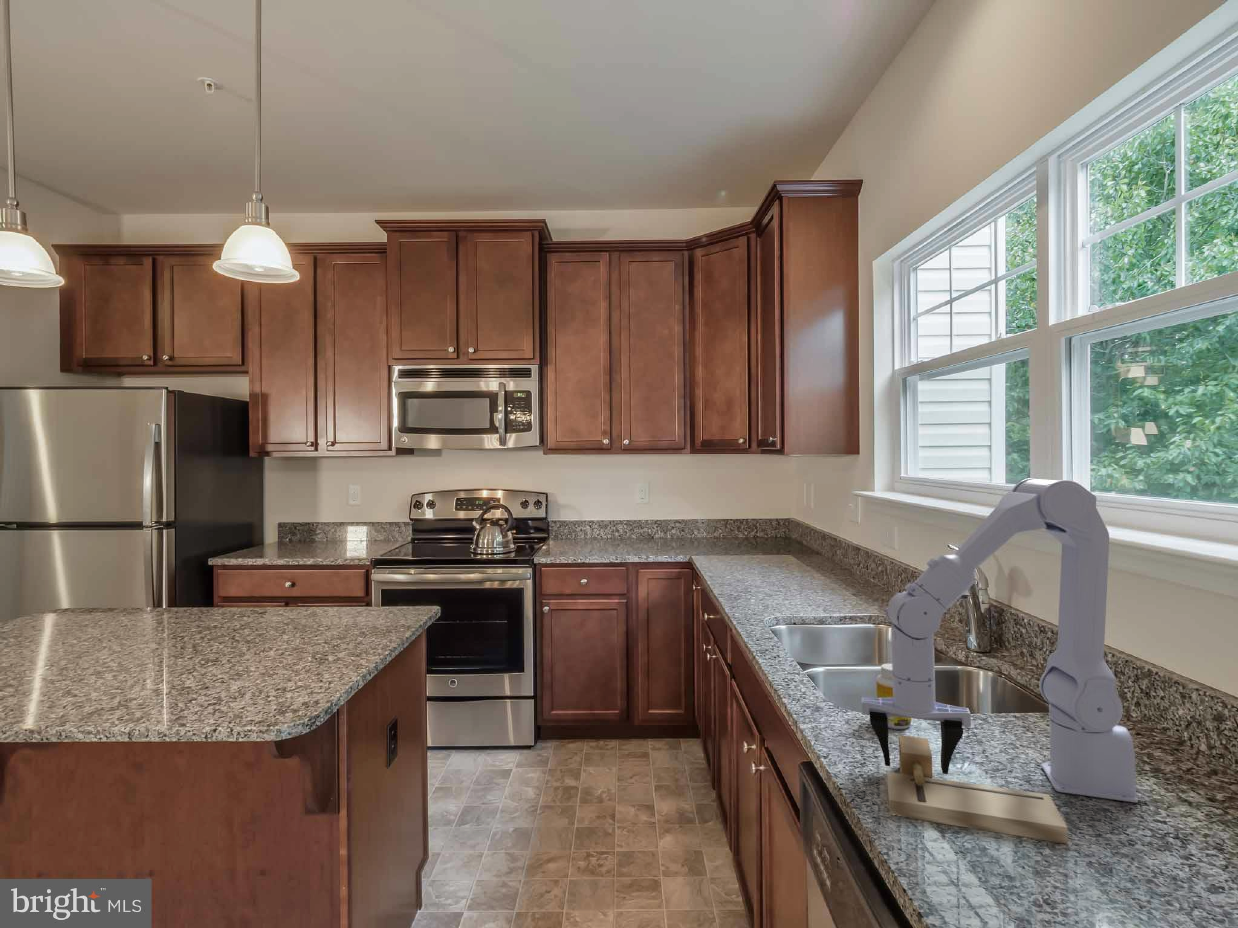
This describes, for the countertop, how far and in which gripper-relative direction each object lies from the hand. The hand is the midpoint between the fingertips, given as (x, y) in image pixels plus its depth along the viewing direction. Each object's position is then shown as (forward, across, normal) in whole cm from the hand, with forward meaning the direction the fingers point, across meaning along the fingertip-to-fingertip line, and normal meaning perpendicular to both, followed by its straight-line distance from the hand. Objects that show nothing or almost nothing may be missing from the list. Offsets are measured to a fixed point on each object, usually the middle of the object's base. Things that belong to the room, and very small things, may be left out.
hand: (915, 766), depth 94 cm
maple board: (+2, -6, +8) cm, 10 cm away
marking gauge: (+2, 0, +2) cm, 3 cm away
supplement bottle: (+2, +2, -20) cm, 20 cm away
